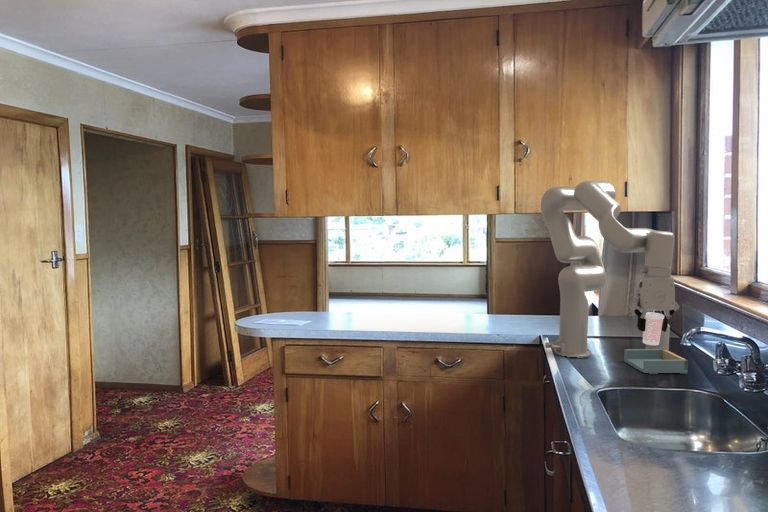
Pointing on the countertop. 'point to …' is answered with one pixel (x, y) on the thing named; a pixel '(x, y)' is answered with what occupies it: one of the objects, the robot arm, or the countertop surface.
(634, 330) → the countertop surface
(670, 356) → the tray
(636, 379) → the countertop surface
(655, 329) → the beverage cup
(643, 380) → the countertop surface
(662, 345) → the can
